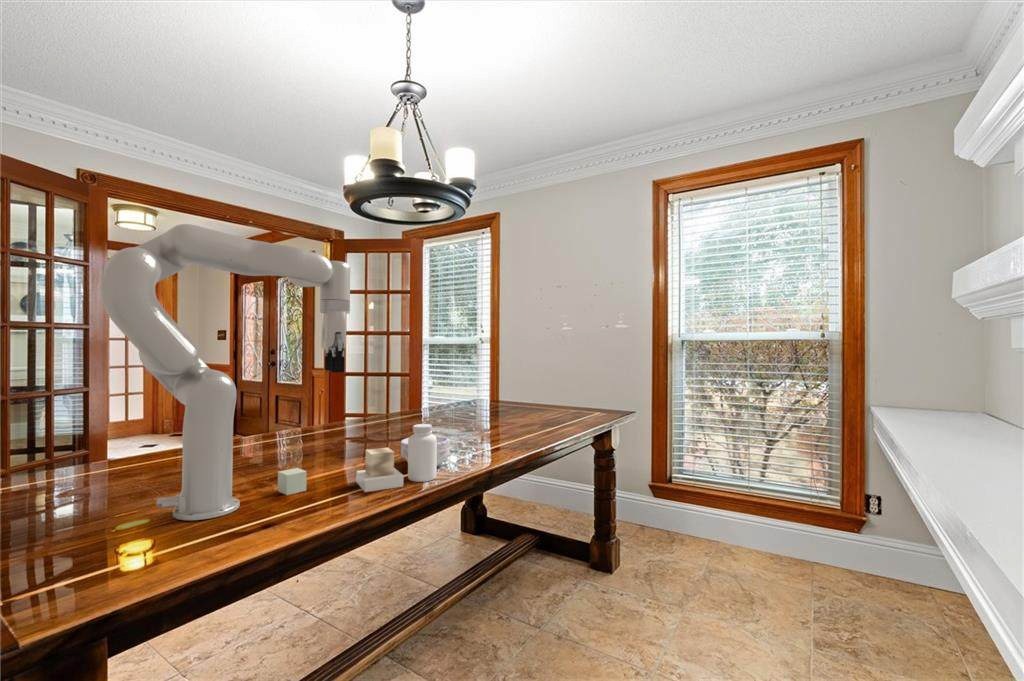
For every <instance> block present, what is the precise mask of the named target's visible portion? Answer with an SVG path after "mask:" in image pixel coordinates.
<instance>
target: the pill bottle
mask: <svg viewBox="0 0 1024 681" xmlns="http://www.w3.org/2000/svg"><path fill="white" fill-rule="evenodd" d="M412 432H413V434H412V435H410V436H409V437H408V438H409V440H408V462H407V477H408V478H407V479H408V480H409V481H411V482H418V483H424V482H430V481H432V480H435V479H436V477H437V472H438V471H437V469H438V468H437V467H438V466H437V439H436V436H437V435H435V434H433V425H432V424H429V423H417V424H415V425H413V426H412Z"/></svg>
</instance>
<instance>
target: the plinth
mask: <svg viewBox="0 0 1024 681" xmlns="http://www.w3.org/2000/svg"><path fill="white" fill-rule="evenodd" d="M355 477H356V478H355V481H356V482H355V483H356V484H357V485H358V486H359V487H360V488H361V489H362V490H363V492H364V493H369V492H376V491H381V490H383V491H384V490H390V489H395V488H403V487H404V474H402V472H400V471H399V470H398V469H396V468H395V467H394V474H393V475H386V476H378V477H370V476H369V475H368V474H367V473H366V472H365V469H362V470H356V475H355Z"/></svg>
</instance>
